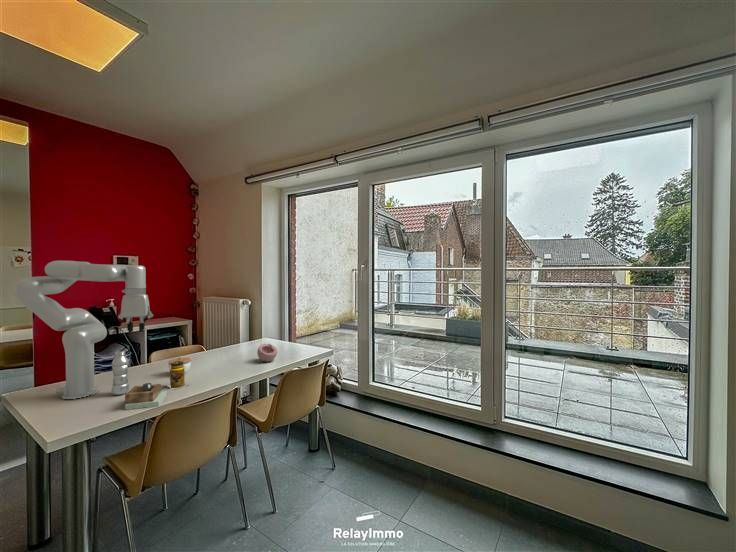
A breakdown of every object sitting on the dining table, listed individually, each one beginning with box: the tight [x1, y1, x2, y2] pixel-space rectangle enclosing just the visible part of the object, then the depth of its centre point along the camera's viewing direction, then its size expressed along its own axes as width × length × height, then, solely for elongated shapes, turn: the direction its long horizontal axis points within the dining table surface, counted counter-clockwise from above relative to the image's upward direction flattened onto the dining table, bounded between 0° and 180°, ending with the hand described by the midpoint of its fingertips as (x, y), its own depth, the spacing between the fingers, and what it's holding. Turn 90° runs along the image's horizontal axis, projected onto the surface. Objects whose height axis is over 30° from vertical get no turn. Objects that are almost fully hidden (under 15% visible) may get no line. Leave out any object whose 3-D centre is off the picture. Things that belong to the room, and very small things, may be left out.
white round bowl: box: [168, 356, 192, 376], centre depth 174 cm, size 11×11×9 cm
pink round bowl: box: [257, 343, 278, 363], centre depth 199 cm, size 12×12×11 cm
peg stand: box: [124, 382, 168, 410], centre depth 137 cm, size 12×12×8 cm
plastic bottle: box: [111, 349, 130, 396], centre depth 146 cm, size 6×7×20 cm
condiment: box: [166, 361, 189, 391], centre depth 157 cm, size 7×8×12 cm
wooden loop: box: [124, 383, 162, 405], centre depth 137 cm, size 10×10×4 cm
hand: (136, 331), depth 146 cm, fingers open, 3 cm apart
